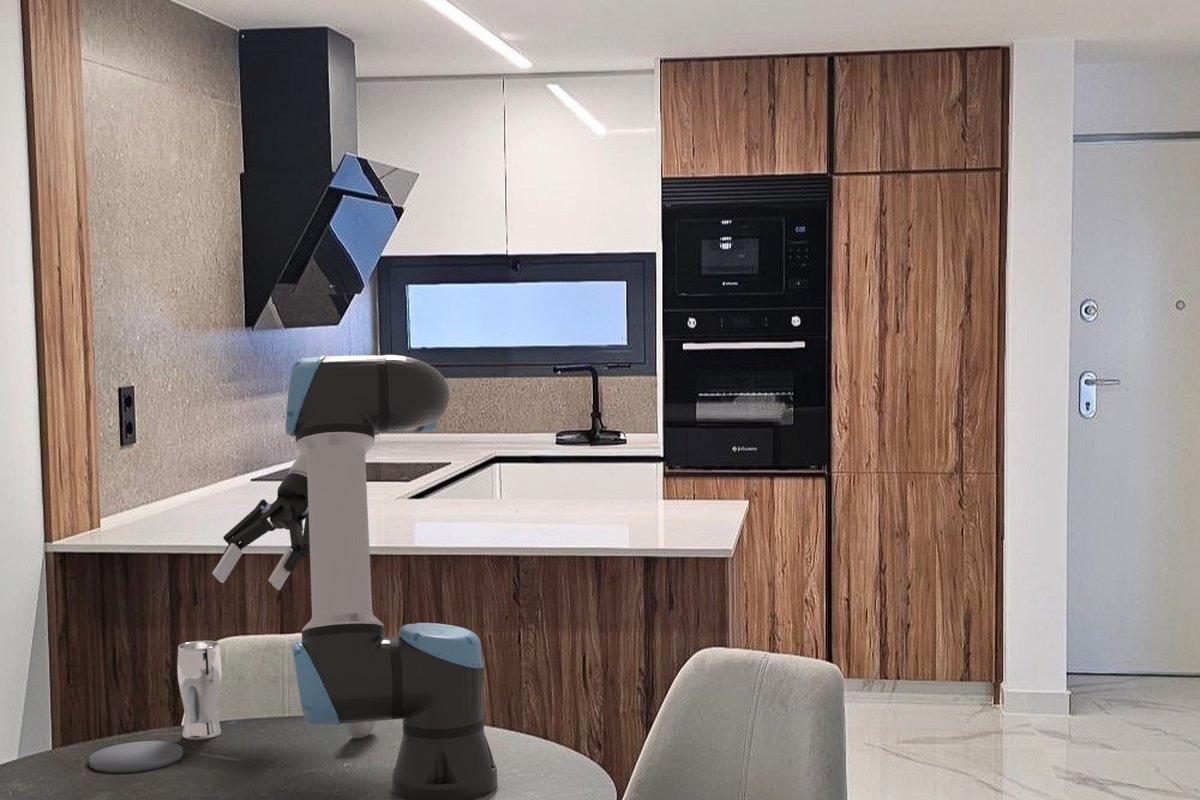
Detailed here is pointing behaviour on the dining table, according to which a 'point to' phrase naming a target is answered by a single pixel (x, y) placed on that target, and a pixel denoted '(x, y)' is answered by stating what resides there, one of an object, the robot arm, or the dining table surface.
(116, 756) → the mat
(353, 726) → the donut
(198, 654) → the beer glass
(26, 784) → the dining table surface
